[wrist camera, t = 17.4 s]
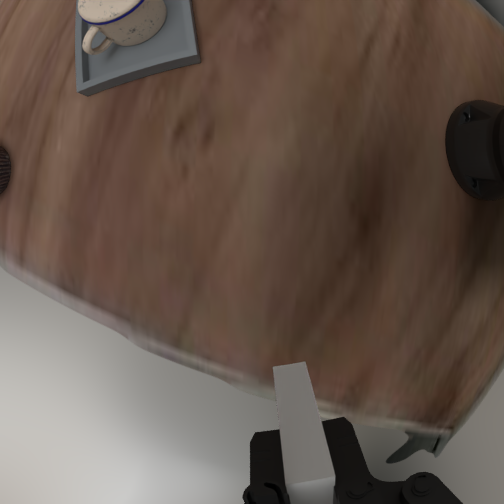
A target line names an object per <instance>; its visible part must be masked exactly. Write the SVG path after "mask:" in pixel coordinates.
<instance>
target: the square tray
mask: <svg viewBox="0 0 504 504" xmlns="http://www.w3.org/2000/svg"><path fill="white" fill-rule="evenodd" d="M163 1H164V3H165V5H166V9H167V15H166V19H165V22H164V24H163V25H162V27H161V28H160V30H159V31H158V32H157V33H156V34H155V35H154V36H152V37H151V38H150V39H148V40H146V41H144V42H142V43H140V44H137V45H132V46H121V45H117V44H115V43H113V42H112V43H111V45H110V46H109V47H108V48H107V49H106V50H105V51H104V52H102V53H100V54H97V55H90V54H88V53H86V52H85V51H84V50H83V47H82V44H83V39H84V37H85V35H86V33H87V32H88V30H89V29H90V28H91V26H92V24H89V23H87V22H85V21H84V20H83V19H82V18H81V17H80V15H79V12H78V0H77V2H76V25H75V62H76V85H77V92H78V93H80V94H83V95H85V96H90V95H92V94H95V93H98V92H100V91H103V90H106V89H109V88H112V87H114V86H117V85H120V84H123V83H126V82H129V81H133V80H136V79H139V78H142V77H146V76H149V75H153V74H156V73H160V72H164V71H167V70H171V69H175V68H179V67H184V66H188V65H192V64H197V63H201V60H200V54H199V47H198V41H197V34H196V27H195V21H194V14H193V7H192V0H163ZM105 38H106V36H105V35H104V34H103V33H102V32H100V31H98V32H97V34H96V35H95V37H94V38H93V41H92V44H91V47H92V48H96V47H97V46H99V45H100V44H101V43H102V42H103V41H104V39H105Z"/></svg>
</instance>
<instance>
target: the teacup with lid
mask: <svg viewBox="0 0 504 504" xmlns="http://www.w3.org/2000/svg"><path fill="white" fill-rule="evenodd" d="M78 12H79V15H80V17H81V18H82V19H83V20H84V21H85V22H87V23H89V24H92V26H91V28H90V29H89V30H88V32H87V33H86V35H85V37H84V39H83V44H82V47H83V50H84V51H85V52H86V53H88V54H90V55H97V54H100V53H102V52H104V51H105V50H106V49H107V48H108V47H109V46H110V45H111V43H112V42H113V43H115V44H117V45H121V46H132V45H137V44H140V43H142V42H144V41H146V40H148V39H150V38H151V37H152V36H154V35H155V34H156V33H157V32H158V31H159V30H160V28H161V27H162V25H163V24H164V22H165V19H166V15H167V9H166V5H165V3H164V1H163V0H78ZM98 31H100V32H102V33H103V34H104V35H105V36H106V38H105V39H104V41H103V42H102V43H101V44H100V45H99V46H97V47H96V48H92V47H91V44H92V41H93V38H94V37H95V35H96V34H97V32H98Z"/></svg>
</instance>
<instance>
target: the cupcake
mask: <svg viewBox="0 0 504 504" xmlns="http://www.w3.org/2000/svg"><path fill="white" fill-rule="evenodd" d="M10 173H11V162H10V160H9V155H8V153H7V152H6V151H5V149H3V148H1V147H0V193H1V192H3V191H4V190H5V188H6V187H7V184H8V182H9V179H10Z"/></svg>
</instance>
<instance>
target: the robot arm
mask: <svg viewBox="0 0 504 504" xmlns="http://www.w3.org/2000/svg"><path fill="white" fill-rule="evenodd" d="M446 151H447V157H448V161H449V164H450V167H451V170H452V172H453V175H454V177H455V178H456V180H457V182H458V183H459V185H460V186H461V187H462V188H463V189H464V190H465V191H466V192H467V193H468V194H470V195H471V196H473V197H475V198H478V199H484V200H497V199H501V198H504V106H501V105H498V104H494V103H491V102H487V101H483V100H475V101H470V102H466V103H463V104H461V105H460V106H458V107H457V108H456V109H455V111H454V112H453V113H452V115H451V117H450V120H449V122H448V126H447V131H446ZM273 374H274V382H275V391H276V401H277V410H278V418H279V427H280V429H279V430H271V431H263V432H255V434H254V436H253V438H252V440H251V442H250V485H249V486H248V487H247V488H246V489H245V491H244V494H243V500H244V502H245V503H244V504H463V503H462V502H461V501H460V500H459V499H458V498H457V497H456V496H455V495H454V494H453V493H452V492H451V491H450V490H449V489H448V488H447V487H446V486H445V485H444V484H443V482H441V480H440V479H439V478H438V477H437V476H435V475H434V474H432V473H428V472H419V473H416V474H414V475H412V476H410V477H409V478H408V479H407V480H406V481H398V482H384V481H380V480H378V479H376V478H374V477H373V476H372V475H371V474H370V472H369V470H368V468H367V465H366V462H365V459H364V456H363V453H362V451H361V448H360V445H359V443H358V439H357V437H356V435H355V431H354V428H353V426H352V424H351V423H350V422H349V421H348V420H347V419H346V418H345V417H340V418H336V419H331V420H326V421H321V418H320V414H319V411H318V407H317V403H316V399H315V396H314V392H313V388H312V385H311V381H310V377H309V374H308V370H307V366H306V363H305V362H300V363H294V364H288V365H282V366H276V367H273Z"/></svg>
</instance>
